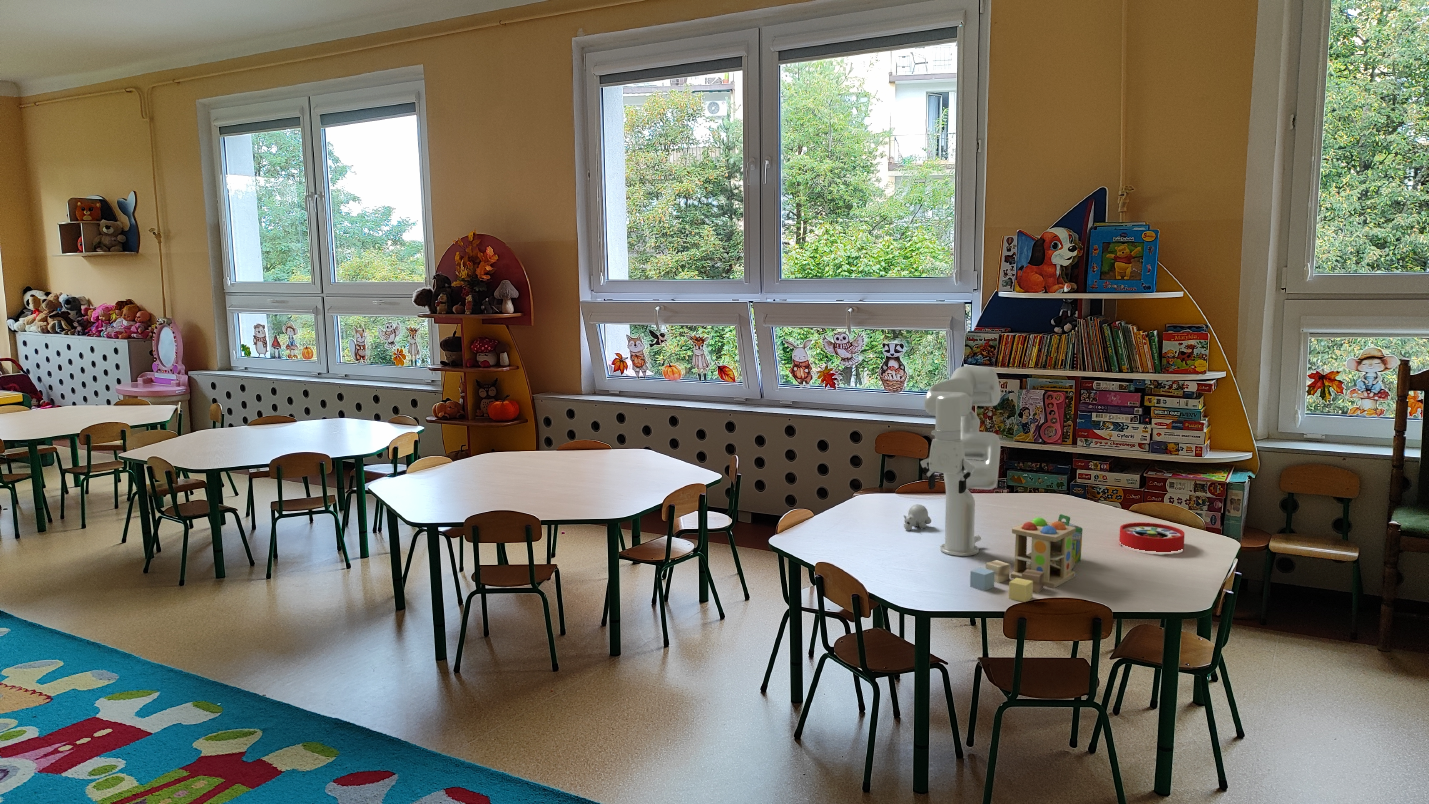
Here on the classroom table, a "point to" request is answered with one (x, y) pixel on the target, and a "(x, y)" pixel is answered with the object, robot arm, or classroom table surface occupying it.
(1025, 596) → the mustard cube
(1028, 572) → the walnut cube
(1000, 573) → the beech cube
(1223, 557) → the classroom table surface
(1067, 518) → the chalk box
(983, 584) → the slate-blue cube
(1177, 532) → the toy clock
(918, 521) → the chubby cartoon animal
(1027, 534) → the pounding bench toy
